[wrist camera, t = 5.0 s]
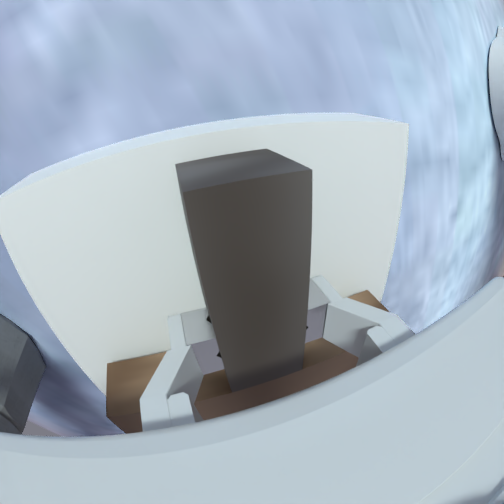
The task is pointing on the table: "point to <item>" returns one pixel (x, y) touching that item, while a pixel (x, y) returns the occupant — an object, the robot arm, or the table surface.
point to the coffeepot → (17, 376)
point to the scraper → (245, 287)
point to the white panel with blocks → (175, 228)
